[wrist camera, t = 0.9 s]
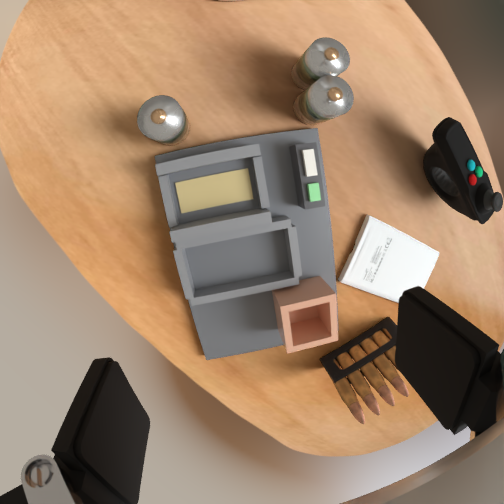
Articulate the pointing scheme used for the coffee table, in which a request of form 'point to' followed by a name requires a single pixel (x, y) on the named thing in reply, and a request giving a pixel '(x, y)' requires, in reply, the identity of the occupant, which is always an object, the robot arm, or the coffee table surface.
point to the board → (246, 232)
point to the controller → (459, 173)
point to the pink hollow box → (306, 314)
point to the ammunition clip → (366, 368)
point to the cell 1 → (163, 120)
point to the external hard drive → (387, 261)
